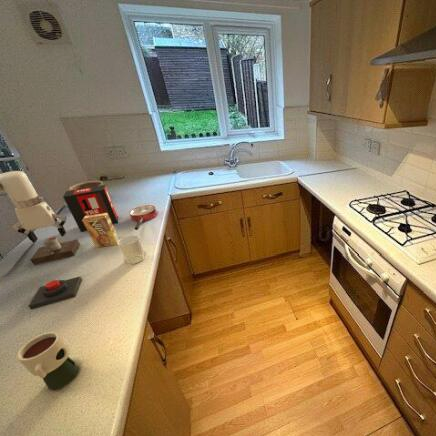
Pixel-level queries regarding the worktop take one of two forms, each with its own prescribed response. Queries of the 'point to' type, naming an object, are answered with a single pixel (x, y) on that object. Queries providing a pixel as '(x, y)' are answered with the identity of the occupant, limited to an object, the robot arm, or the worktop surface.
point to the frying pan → (142, 214)
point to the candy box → (100, 230)
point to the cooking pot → (86, 185)
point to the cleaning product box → (89, 204)
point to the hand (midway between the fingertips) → (49, 237)
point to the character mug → (48, 360)
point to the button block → (56, 293)
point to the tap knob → (52, 244)
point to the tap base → (55, 252)
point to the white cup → (131, 248)
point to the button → (52, 285)
